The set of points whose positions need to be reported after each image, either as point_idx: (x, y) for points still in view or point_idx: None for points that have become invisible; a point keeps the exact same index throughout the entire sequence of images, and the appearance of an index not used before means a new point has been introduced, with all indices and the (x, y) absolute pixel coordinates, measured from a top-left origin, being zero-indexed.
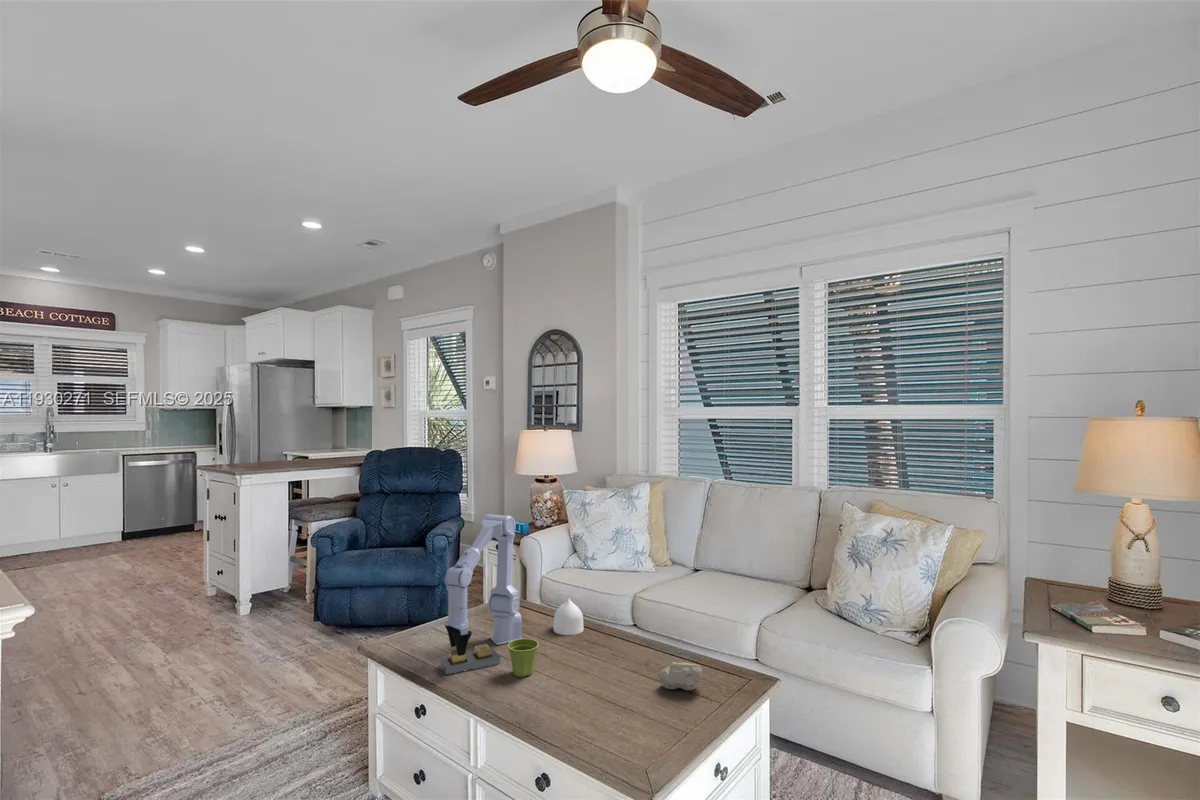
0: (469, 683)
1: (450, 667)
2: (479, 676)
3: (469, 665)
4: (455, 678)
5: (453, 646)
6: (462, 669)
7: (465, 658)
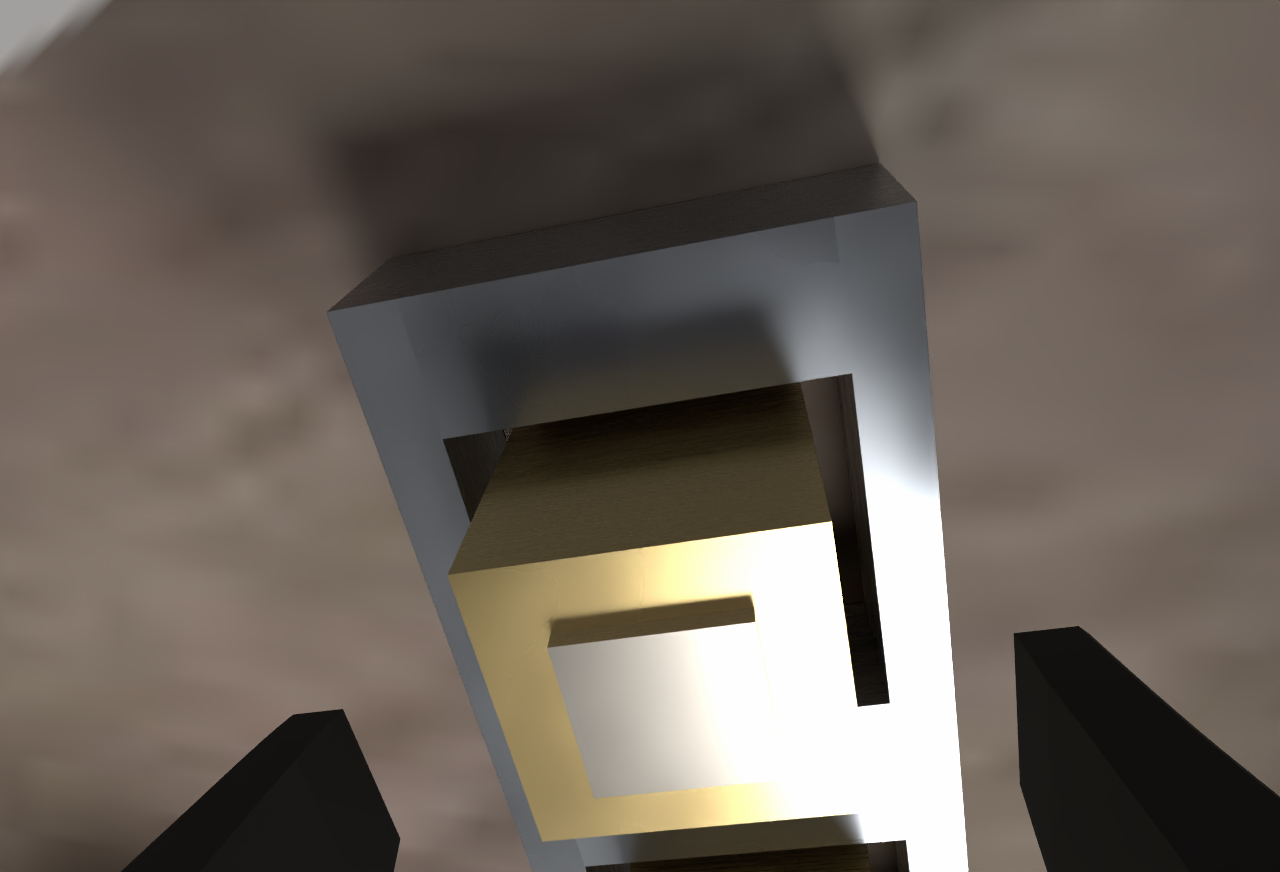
0: (34, 594)
1: (374, 402)
2: None
3: None
4: (238, 416)
5: (1021, 684)
6: None
7: None
